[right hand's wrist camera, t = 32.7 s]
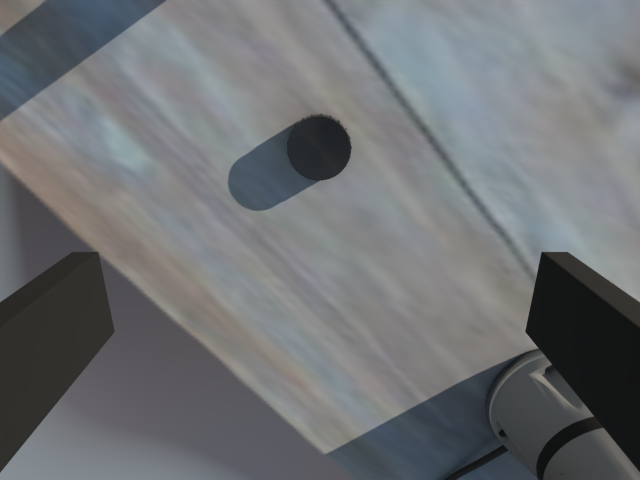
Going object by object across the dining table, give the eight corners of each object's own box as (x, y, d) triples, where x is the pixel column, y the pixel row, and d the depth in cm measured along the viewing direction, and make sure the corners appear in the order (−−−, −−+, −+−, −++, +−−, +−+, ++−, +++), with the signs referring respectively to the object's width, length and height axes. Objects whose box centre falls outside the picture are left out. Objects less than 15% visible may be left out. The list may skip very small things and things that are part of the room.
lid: (352, 173, 40) (353, 178, 38) (291, 179, 40) (290, 184, 38) (348, 110, 38) (349, 112, 36) (284, 116, 38) (283, 118, 36)
